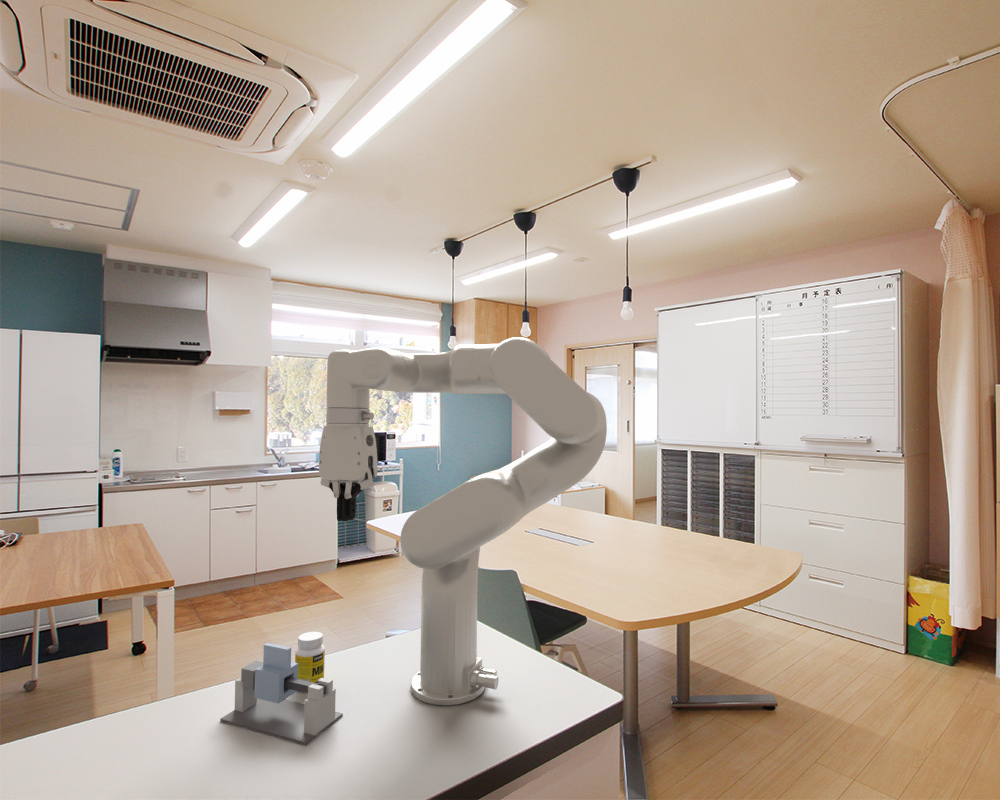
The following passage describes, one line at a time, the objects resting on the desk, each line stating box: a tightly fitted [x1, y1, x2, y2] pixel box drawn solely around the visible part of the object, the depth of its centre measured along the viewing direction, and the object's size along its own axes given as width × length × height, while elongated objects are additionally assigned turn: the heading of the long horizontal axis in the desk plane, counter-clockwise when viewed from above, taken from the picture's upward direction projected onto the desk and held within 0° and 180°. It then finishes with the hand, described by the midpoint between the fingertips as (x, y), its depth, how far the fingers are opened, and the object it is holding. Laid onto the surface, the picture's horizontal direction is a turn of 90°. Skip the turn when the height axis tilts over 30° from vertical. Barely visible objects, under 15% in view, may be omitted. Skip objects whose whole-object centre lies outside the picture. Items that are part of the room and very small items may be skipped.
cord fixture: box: [219, 660, 344, 746], centre depth 81 cm, size 16×8×7 cm, turn 69°
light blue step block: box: [254, 642, 298, 704], centre depth 82 cm, size 5×4×7 cm
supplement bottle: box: [294, 631, 326, 684], centre depth 91 cm, size 5×5×8 cm
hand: (346, 519), depth 98 cm, fingers closed
